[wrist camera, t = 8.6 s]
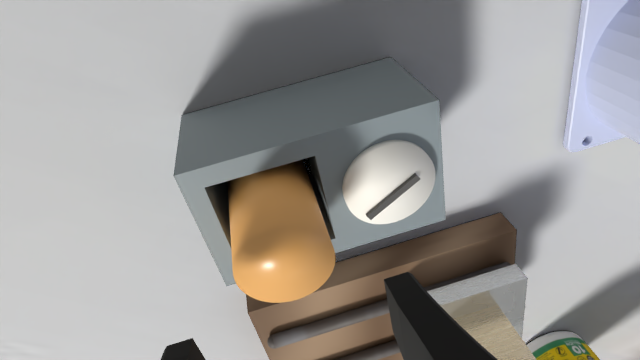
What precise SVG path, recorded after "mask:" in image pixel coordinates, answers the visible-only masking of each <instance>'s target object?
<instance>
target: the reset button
mask: <svg viewBox="0 0 640 360" xmlns="http://www.w3.org/2000/svg"><path fill="white" fill-rule="evenodd" d="M227 183H228V200H229V217H230V235H231V252H232V269H233V277H234V280H235V282H236V284H237V285H238V287H239V288H240V289H241V290H242V291H243V292H244V293H245V294H247V295H248V296H250V297H252V298H254V299H257V300H260V301H264V302H271V303H282V302H290V301H294V300H298V299H300V298H303V297H305V296H307V295H309V294H311V293H313V292H315V291H316V290H317V289H319V288H320V287H321V286H322V285H323V284H324V283H325V282H326V281H327V280H328V278H329V277H330V275H331V273H332V271H333V269H334V266H335V251H334V248H333V245H332V242H331V239H330V236H329V234H328V231H327V228H326V225H325V222H324V219H323V216H322V214H321V211H320V208H319V205H318V202H317V199H316V196H315V194H314V191H313V188H312V185H311V182H310V179H309V176H308V174H307V171H306V168H305V165H304V162H303V160H298V161H295V162H292V163H288V164H285V165H281V166H278V167H274V168H271V169H267V170H264V171H260V172H257V173H254V174H250V175H247V176H243V177H240V178H236V179H233V180H229V181H227Z"/></svg>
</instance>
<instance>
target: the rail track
mask: <svg viewBox="0 0 640 360" xmlns="http://www.w3.org/2000/svg"><path fill="white" fill-rule="evenodd" d="M516 235H517V230H516V229H515V228H514V226H513V225H512V224H511V223H510V222H509V221H508V220H507V219H506V218H505V217H504V216H503V215H502V213H497V214H494V215H491V216H488V217H484V218H481V219H478V220H474V221H471V222H468V223H465V224H461V225H458V226H455V227H451V228H448V229H445V230H442V231H438V232H435V233H432V234H428V235H425V236H422V237H419V238H415V239H412V240H409V241H405V242H402V243H399V244H396V245H392V246H389V247H386V248H382V249H379V250H376V251H373V252H369V253H366V254H363V255H359V256H356V257H353V258H350V259H346V260H343V261H340V262H336V263H335V266H334V269H333V271H332V273H331V275H330V277H329V278H328V280H327V281H326V282H325V283H324V284H323V285H322V286H321V287H320V288H319V289H317V290H316V291H315V292H313V293H311V294H309V295H307V296H305V297H303V298H300V299H298V300H294V301H290V302H282V303H271V302H264V301H260V300H257V299H254V298H252V297H250V296H248V295H247V294H246V298H247V309H248V314H249V316H250V319H251V321H252V323H253V325H254V327H255V329H256V331H257V334H258V336H259V338H260V340H261V342H262V344H263V347H264V349H265V351H266V353H267V355H268V357H269V359H270V360H404V359H403V357H402V354H401V352H400V349H399V346H398V344H397V341H396V338H395V336H394V333H393V329H392V324H391V318H390V312H389V307H388V301H387V295H386V290H385V284H384V279H386V278H389V277H392V276H396V275H399V274H402V273H405V272H409V273H411V274H413V276H414V277H415V278H416V279H417V280H418V282H419V283H420V284H421V285H422V286H423V287H424V289H425V290H426V291H430V290H433V289H436V288H440V287H443V286H446V285H449V284H452V283H456V282H459V281H462V280H465V279H468V278H472V277H475V276H478V275H481V274H484V273H488V272H491V271H494V270H497V269H500V268H504V267H507V266H510V265H513V264H514V263H515V249H516Z"/></svg>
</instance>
